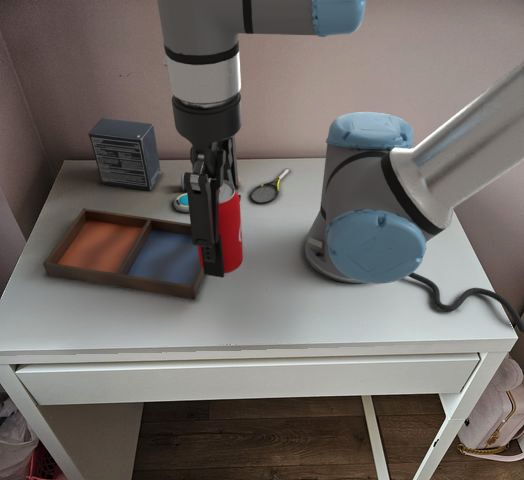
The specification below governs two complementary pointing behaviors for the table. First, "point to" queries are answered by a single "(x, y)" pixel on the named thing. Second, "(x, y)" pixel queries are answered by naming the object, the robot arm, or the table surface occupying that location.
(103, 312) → the table surface
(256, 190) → the tennis racket
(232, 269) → the beverage can
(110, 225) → the sorting tray
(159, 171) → the small box
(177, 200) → the button
